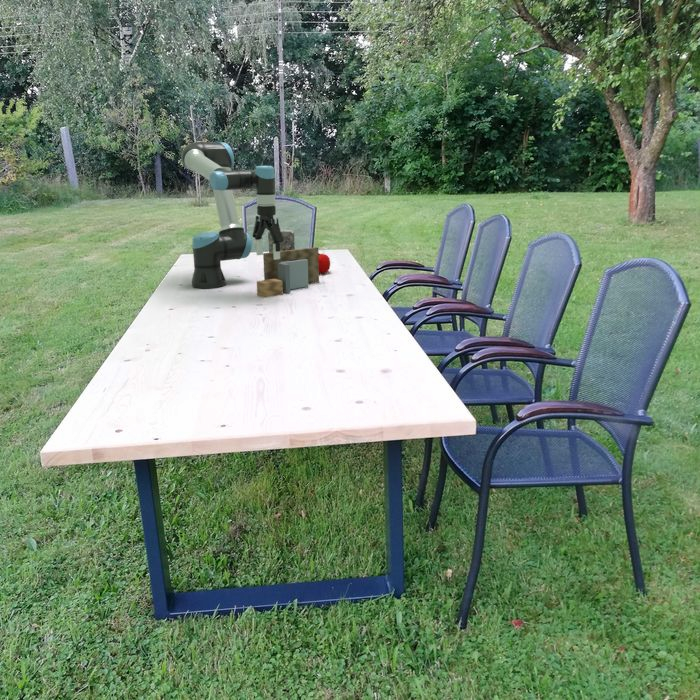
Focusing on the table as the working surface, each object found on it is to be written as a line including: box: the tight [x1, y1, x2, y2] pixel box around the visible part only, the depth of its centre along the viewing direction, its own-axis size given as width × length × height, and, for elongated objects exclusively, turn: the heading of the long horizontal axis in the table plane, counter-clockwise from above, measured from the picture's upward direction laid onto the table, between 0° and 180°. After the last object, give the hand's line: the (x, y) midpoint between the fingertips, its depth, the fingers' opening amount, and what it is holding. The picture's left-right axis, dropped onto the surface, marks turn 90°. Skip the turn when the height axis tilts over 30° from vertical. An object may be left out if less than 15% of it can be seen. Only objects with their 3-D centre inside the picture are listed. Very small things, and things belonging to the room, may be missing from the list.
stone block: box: [267, 229, 296, 263], centre depth 322 cm, size 13×7×20 cm, turn 96°
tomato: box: [319, 252, 331, 275], centre depth 313 cm, size 11×13×10 cm
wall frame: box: [262, 246, 320, 285], centre depth 283 cm, size 28×2×16 cm, turn 128°
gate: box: [278, 259, 309, 294], centre depth 275 cm, size 15×6×12 cm, turn 128°
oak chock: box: [256, 279, 284, 298], centre depth 268 cm, size 9×6×6 cm, turn 128°
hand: (268, 257), depth 264 cm, fingers open, 13 cm apart
